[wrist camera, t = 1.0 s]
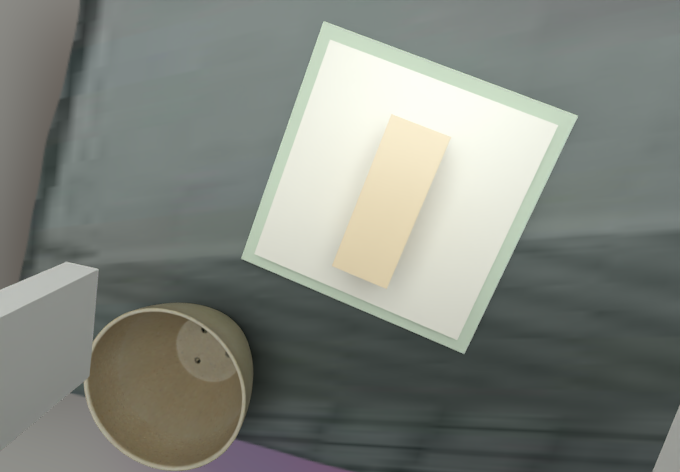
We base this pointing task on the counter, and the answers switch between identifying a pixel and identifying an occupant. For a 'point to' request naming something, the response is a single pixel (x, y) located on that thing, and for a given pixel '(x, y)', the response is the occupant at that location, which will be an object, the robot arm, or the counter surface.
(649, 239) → the counter surface
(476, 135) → the board
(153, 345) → the flower pot
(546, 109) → the mat
